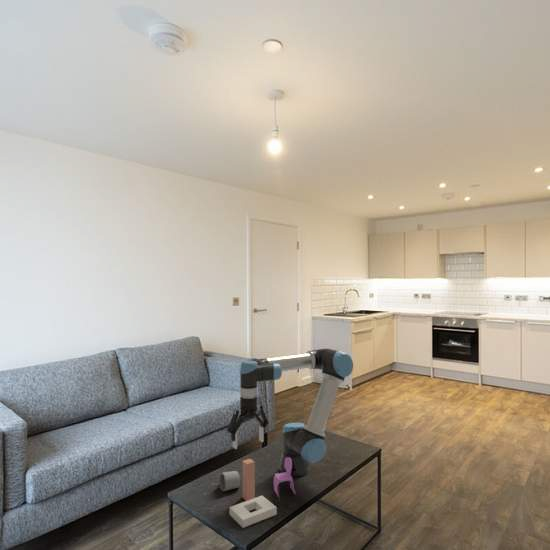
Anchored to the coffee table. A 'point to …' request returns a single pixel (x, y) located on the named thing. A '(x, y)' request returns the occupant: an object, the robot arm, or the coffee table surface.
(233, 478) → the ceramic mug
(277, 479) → the toy chair
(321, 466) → the coffee table surface
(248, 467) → the peg
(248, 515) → the socket block
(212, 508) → the coffee table surface
